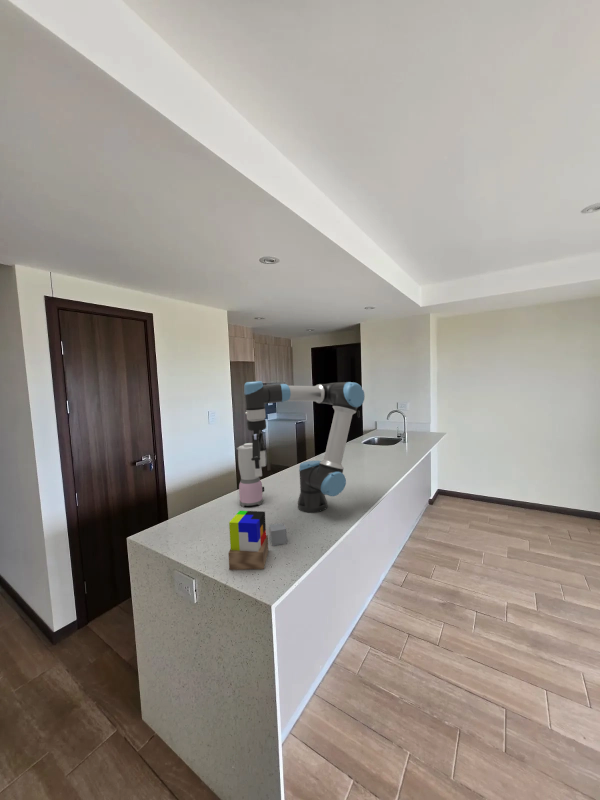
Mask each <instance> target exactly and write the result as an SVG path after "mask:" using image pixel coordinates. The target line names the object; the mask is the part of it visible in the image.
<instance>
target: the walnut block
mask: <svg viewBox="0 0 600 800" xmlns="http://www.w3.org/2000/svg"><path fill="white" fill-rule="evenodd" d="M268 554H269V536H268V535H267V534H266V539H265V540H264V542H263V544H262V546H261V547H260V549H259V551H258V552H254V551H237V550H231V548H230V549H229V551H228V566H229V568H228V570H229V571H232V570H234V571H235V570H236V571H237V570H265V565H266V562H267V558H268Z"/></svg>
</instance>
